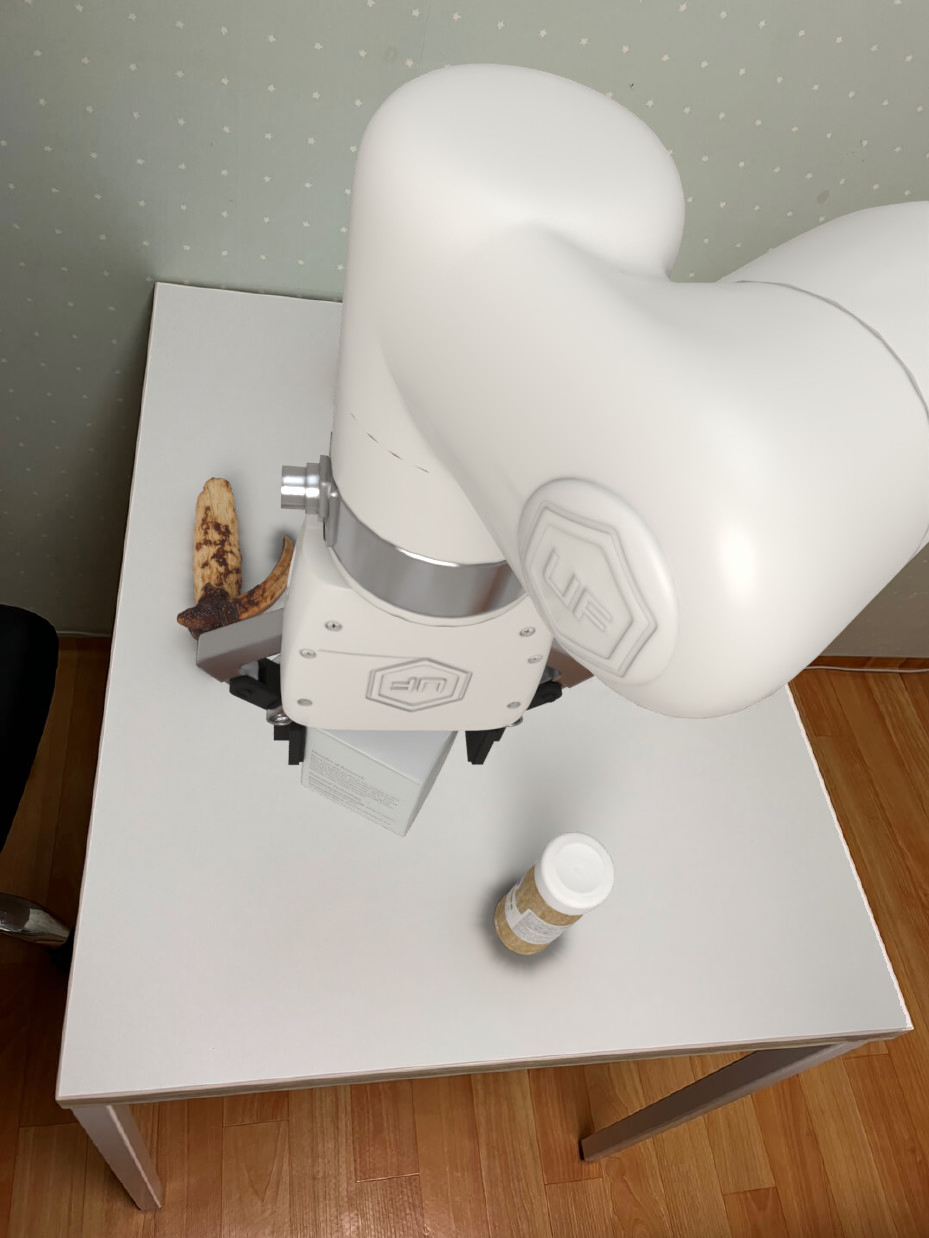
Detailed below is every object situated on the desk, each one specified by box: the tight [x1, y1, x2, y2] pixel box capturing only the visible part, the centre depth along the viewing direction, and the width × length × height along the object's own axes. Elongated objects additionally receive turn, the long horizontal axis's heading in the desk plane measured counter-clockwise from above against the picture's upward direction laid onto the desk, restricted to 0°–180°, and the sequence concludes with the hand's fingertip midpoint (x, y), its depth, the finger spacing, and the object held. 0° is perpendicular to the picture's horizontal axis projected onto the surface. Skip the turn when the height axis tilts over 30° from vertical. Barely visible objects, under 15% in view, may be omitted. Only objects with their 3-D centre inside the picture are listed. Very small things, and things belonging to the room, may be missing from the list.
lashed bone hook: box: [176, 476, 295, 642], centre depth 70 cm, size 9×5×18 cm
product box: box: [300, 726, 459, 838], centre depth 42 cm, size 6×6×7 cm
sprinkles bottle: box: [493, 831, 616, 956], centre depth 56 cm, size 5×5×13 cm
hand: (386, 736), depth 42 cm, fingers closed on product box, 8 cm apart
